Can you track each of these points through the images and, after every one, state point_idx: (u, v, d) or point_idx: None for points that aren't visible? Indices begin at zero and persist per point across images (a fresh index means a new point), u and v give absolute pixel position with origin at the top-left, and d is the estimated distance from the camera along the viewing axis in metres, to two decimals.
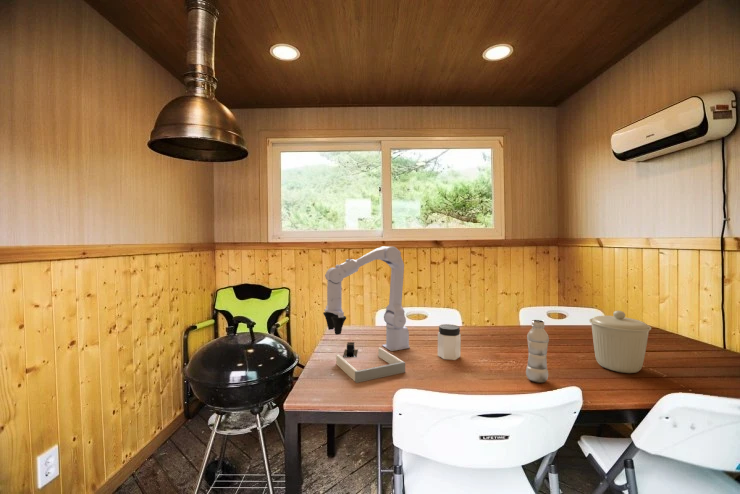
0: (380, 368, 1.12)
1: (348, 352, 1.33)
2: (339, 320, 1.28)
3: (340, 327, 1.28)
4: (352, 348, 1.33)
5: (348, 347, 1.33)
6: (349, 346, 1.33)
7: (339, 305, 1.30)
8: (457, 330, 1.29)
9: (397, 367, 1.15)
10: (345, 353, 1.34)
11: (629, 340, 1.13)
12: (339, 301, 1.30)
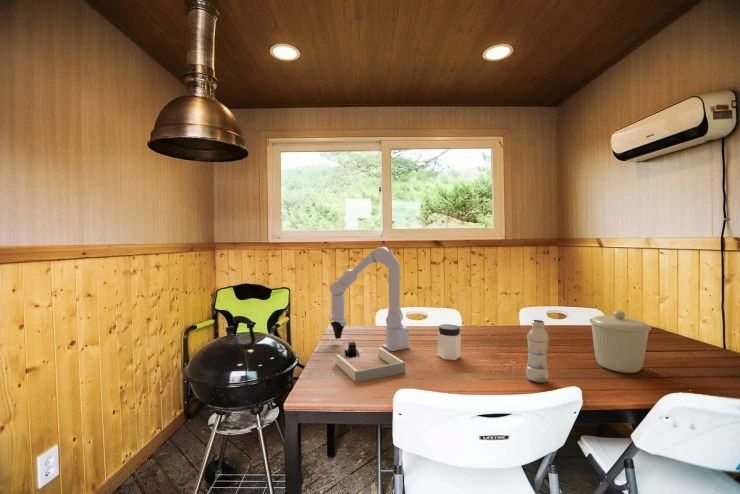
0: (380, 368, 1.12)
1: (350, 352, 1.33)
2: (339, 326, 1.47)
3: (340, 332, 1.47)
4: (354, 348, 1.34)
5: (350, 347, 1.33)
6: (351, 346, 1.33)
7: (342, 314, 1.46)
8: (457, 330, 1.29)
9: (397, 367, 1.15)
10: (347, 353, 1.34)
11: (628, 340, 1.13)
12: (342, 311, 1.46)
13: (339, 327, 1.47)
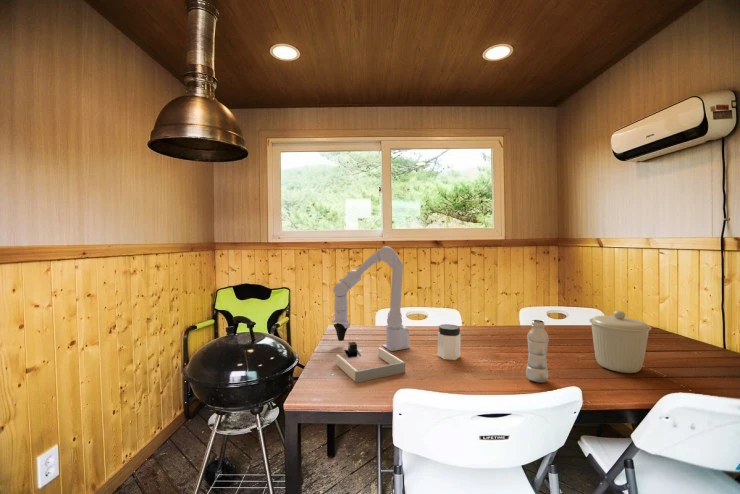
0: (380, 368, 1.12)
1: (351, 352, 1.33)
2: (342, 328, 1.44)
3: (343, 334, 1.44)
4: (355, 348, 1.34)
5: (351, 347, 1.33)
6: (352, 346, 1.34)
7: (345, 316, 1.43)
8: (457, 330, 1.29)
9: (397, 367, 1.15)
10: (348, 353, 1.34)
11: (629, 340, 1.13)
12: (345, 313, 1.42)
13: (342, 329, 1.44)
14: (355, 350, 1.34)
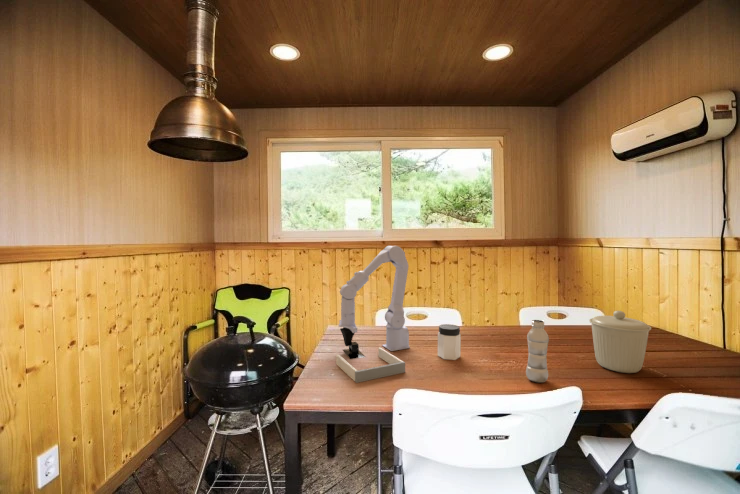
0: (380, 368, 1.12)
1: (353, 352, 1.33)
2: (349, 332, 1.37)
3: (350, 339, 1.37)
4: (357, 347, 1.34)
5: (353, 347, 1.33)
6: (354, 346, 1.33)
7: (352, 320, 1.36)
8: (457, 330, 1.29)
9: (397, 367, 1.15)
10: (349, 353, 1.34)
11: (629, 340, 1.13)
12: (352, 316, 1.35)
13: (349, 334, 1.37)
14: (357, 350, 1.34)
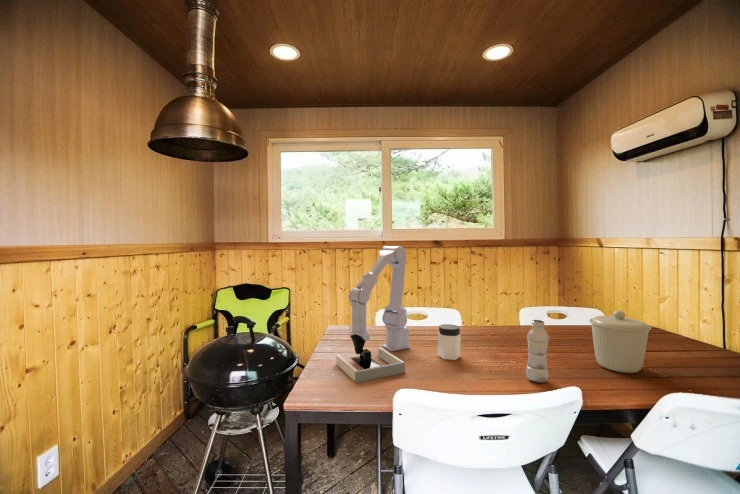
0: (380, 368, 1.12)
1: (366, 360, 1.24)
2: (360, 340, 1.27)
3: (361, 347, 1.27)
4: (370, 355, 1.24)
5: (366, 355, 1.24)
6: (366, 353, 1.24)
7: (364, 326, 1.26)
8: (457, 330, 1.29)
9: (397, 367, 1.15)
10: (361, 362, 1.24)
11: (628, 340, 1.13)
12: (364, 322, 1.26)
13: (360, 341, 1.27)
14: (369, 358, 1.24)
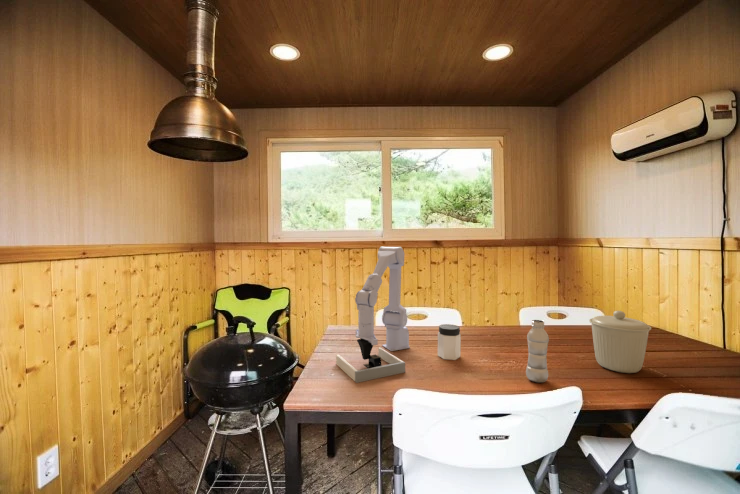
0: (380, 368, 1.12)
1: (376, 366, 1.19)
2: (367, 344, 1.22)
3: (368, 352, 1.22)
4: (380, 361, 1.19)
5: (376, 361, 1.19)
6: (376, 359, 1.19)
7: (371, 331, 1.20)
8: (457, 330, 1.29)
9: (397, 367, 1.15)
10: None
11: (629, 340, 1.13)
12: (371, 326, 1.20)
13: (367, 345, 1.22)
14: (379, 364, 1.19)
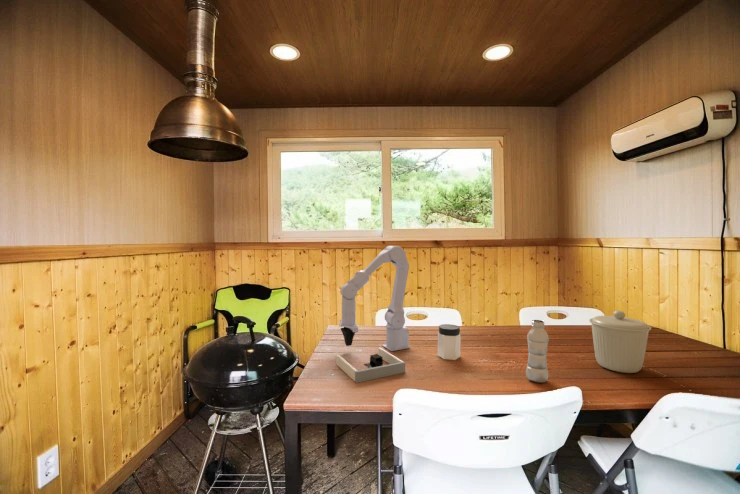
0: (380, 368, 1.12)
1: (377, 366, 1.19)
2: (350, 332, 1.37)
3: (351, 339, 1.37)
4: (381, 360, 1.20)
5: (377, 360, 1.19)
6: (378, 359, 1.19)
7: (353, 320, 1.35)
8: (457, 330, 1.29)
9: (397, 367, 1.15)
10: None
11: (629, 340, 1.13)
12: (353, 316, 1.35)
13: (350, 333, 1.37)
14: (381, 363, 1.20)
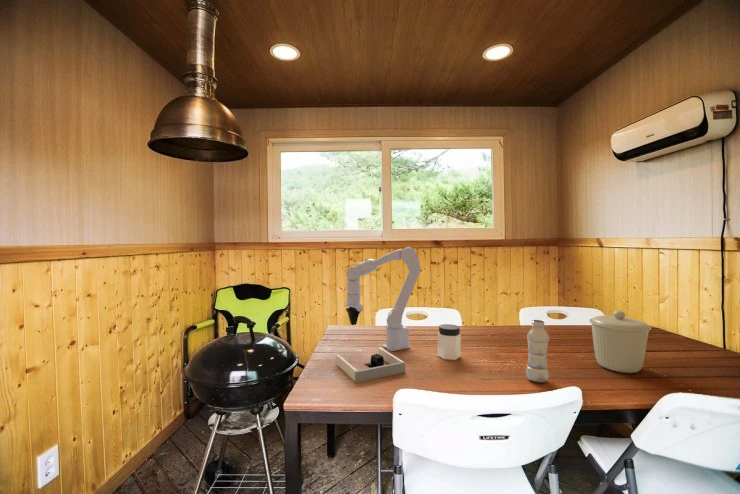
0: (380, 368, 1.12)
1: (379, 365, 1.19)
2: (355, 312, 1.44)
3: (356, 318, 1.44)
4: (382, 360, 1.20)
5: (379, 360, 1.19)
6: (379, 359, 1.20)
7: (358, 300, 1.43)
8: (457, 330, 1.29)
9: (397, 367, 1.15)
10: None
11: (629, 340, 1.13)
12: (358, 296, 1.42)
13: (355, 313, 1.44)
14: (382, 363, 1.20)
